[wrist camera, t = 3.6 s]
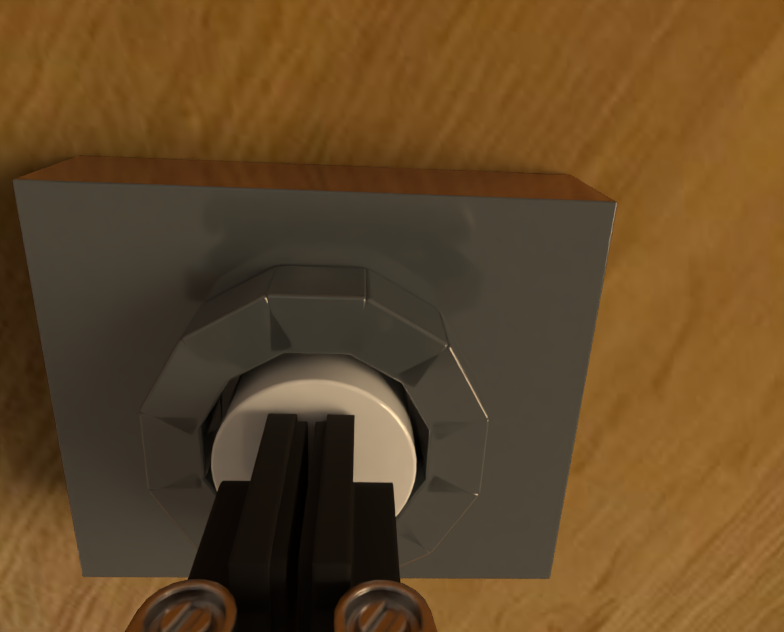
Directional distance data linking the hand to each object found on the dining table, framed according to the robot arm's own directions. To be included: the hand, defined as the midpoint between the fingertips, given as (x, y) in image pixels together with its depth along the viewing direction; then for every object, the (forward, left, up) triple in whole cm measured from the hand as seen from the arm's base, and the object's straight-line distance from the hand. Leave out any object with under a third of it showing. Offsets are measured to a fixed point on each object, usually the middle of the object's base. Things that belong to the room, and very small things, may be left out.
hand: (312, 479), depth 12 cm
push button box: (0, 0, -6) cm, 6 cm away
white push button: (0, 0, -2) cm, 2 cm away
